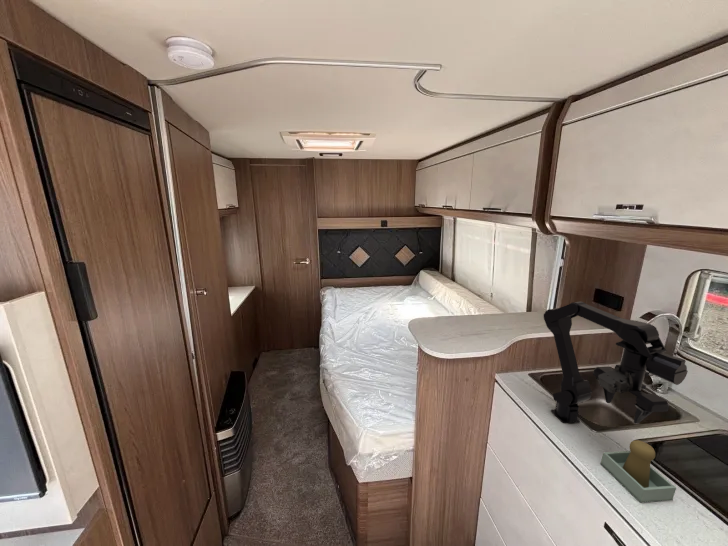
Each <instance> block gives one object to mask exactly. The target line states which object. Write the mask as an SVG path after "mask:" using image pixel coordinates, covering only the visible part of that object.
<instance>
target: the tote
mask: <svg viewBox="0 0 728 546" xmlns="http://www.w3.org/2000/svg"><path fill="white" fill-rule="evenodd" d="M630 452H631V451H630V450H623V451H622V450H621V451H619V450H618V451H605V452H604V451H603V453H602V455H601V461H600V466H602V468H604V469H605V470H606V471H607V472H608V473H609V474H610V475H611V476H612V477H613V478H614V479H615V480H616V481H617V482H618V483H619V484H620V485H622V487H623V488H624V489H625V490H626V491H628V492H629V494H630V495H631V496H633V498H634V499H636V501H638V503H640V504H642V503H646V504H647V503H654V502H666V501H667V502H670V501H673V499H674V496H675V493H676V491H677V487H676V486H675V485H674V484H673V483H672V482H671V481H669V480H667V478H665V477H664V476H663V475H662V474H661V473H660V472H659V471H657V470H656V469H654V467H652V466H651V465H650V477H649V487H648V488H643V487H642V486H641V485H640V484H639V483H638V482H637V481H636V480H635V479H634V478H633V477H631V476H630V475H629V474H628V473H627V472H626V471H625V470H624V469H623V468H622V467H623V465H624V464H625V462H626V460H627V458H628V456H629V454H630Z"/></svg>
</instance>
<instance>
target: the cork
mask: <svg viewBox="0 0 728 546" xmlns="http://www.w3.org/2000/svg"><path fill="white" fill-rule="evenodd" d="M628 448H629V451H631V452H630V454H629V456H628V458H627V460H626V462H625V464H624V465H623V467H622V468H623V469H624V470H625V471H626V472H627V473H628V474H629V475H630V476H631V477H633V478H634V479H635V480H636V481H637V482H638V483H639V484H640V485H641V486H642V487H643V488H648V487H649V477H650V466H651V465H652V464H651V461H653V460H654V459H655V458H656V451H655V449H654V448H653V446H651V445H650V444H648V443H647V442H645V441H642V440H638V439H637V440H636V439H635V440H632V441H631V442H630V443H629V447H628Z"/></svg>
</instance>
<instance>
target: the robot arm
mask: <svg viewBox="0 0 728 546" xmlns="http://www.w3.org/2000/svg"><path fill="white" fill-rule="evenodd" d="M578 316H579V317H580V318H583V319H586V320H587V321H589V322H591V323H594V324H596V325H599V326H601V327H603V328H606V329H608V330H609V331H612V332H614V333H615V334H616V336H617V337H618V338H620V339H621V341H617V342H615V345H616V346H618V347H621V348H623V351H622V355H621V360H620V363H619V364H615V366H614V368H612V367H611V366H597V367H595V368H594V369H593V373H592V376H593V377H595V379H596V380H597V381H598V385H599V386H600V387H601V388H602V389H603V394H604V399H605V402H606V403H607V404H610V403H612V401H613V399H614V396H615V395H616V393H617V392H618V393H620V394H623V393H627V392H629V393H631V394H632V395H633V396H635V397H636V398H635V401H636V403H634V406H635V407H636V408H635V409H636V410H635V414H634V417H633V423H634V424H635V425H636V424H637V425H638V424H639V423H641V422H642V421H643V420H644V419H646V418H647V417H648V416H650V415H651V414H653V413H661V412H664V413H665V412H668V411H669V409H670V403H669V402H668V400H666V399H664V398H662V397H661V396H659V395H657V394H656V393H645V392H643V390H646V387H647V385H645V384H644V380H645V377H649V376H650V374H651V375H652V376H655V377H657V378H659V379H662V380H664V381H666V382H668V383H671V384H673V385H675V386H679V385H680V384H682V383H683V381H684V380H685V379H686V377H687V374H688V373H689V372H688V366H687V365H686V361H687V360H686V359H684V358H680V357H678V356H673V355H671V354H668V353H666V352H667V348H666V347H665V345H664V343H663V342H662V339H661V338H660V333H659V330H658V329H657V327H656V326H654V325H653V324H651V323H647V322H643V321H639V320H634V319H627V318H622V317H620V316H617V315H615V314H613V313H610V312H608V311H605V310H602V309H600V308H597V307H595V306H592V305H591V304H587V303H586V302H583V301H576V302H571V303H569V304H567V305H564V306H561V307H560V306H559V308H558V307H556V308H551V309H547V310H546V311H544V313H543V320H544V324H545V325H546V328H547V329H548V330H549V331H550V332H551V334H552V335H553V338H554V342H555V343H554V344H555V348H556V352H557V354H558V358H559V359H558V360H559V363H560V367H561V371H562V379H561V383H560V391H559V392H555V393H552V397H553V401H555V408H552V409H550V411H551V412H552V414H553V415H554V416H555V417H556V418H557V419H559V421H560V422H561V423H563V424H569V423H580V422H581V420H580V419H579V418H578V416H579V409H580V406H579V404H583V403H584V402H587V401H589V400H590V399H591V398H592V396H591V395H592V393H593V391H592V389H591V384H590V381H589V380H587V379H586V380H585V379H584V377H582V376H581V374H580V370H579V367H578V361H577V358H576V354H575V349H574V346H573V342H572V338H571V333H570V332H571V329H572V326H573V320H572V319H573V318H576V317H578ZM647 345H650V346H647Z"/></svg>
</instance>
